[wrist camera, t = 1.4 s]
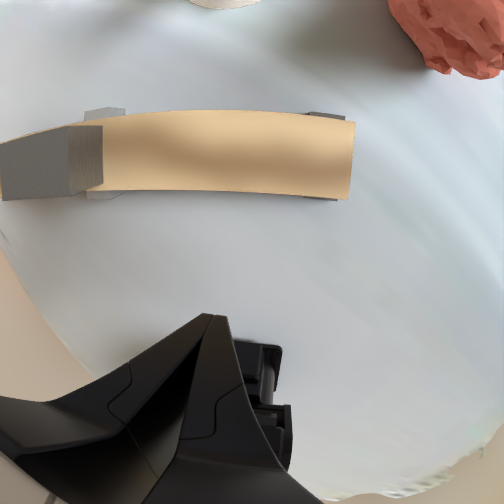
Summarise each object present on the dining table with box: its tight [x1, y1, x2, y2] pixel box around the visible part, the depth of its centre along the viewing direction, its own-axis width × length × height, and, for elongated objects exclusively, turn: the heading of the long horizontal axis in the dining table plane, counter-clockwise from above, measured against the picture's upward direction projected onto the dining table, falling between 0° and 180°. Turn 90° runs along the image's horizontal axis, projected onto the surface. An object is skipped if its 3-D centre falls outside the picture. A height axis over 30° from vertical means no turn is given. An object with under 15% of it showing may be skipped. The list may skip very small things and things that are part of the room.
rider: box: [0, 125, 104, 201], centre depth 14 cm, size 4×7×4 cm, turn 87°
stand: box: [24, 107, 345, 201], centre depth 18 cm, size 7×29×2 cm, turn 87°
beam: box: [0, 110, 355, 200], centre depth 17 cm, size 5×30×2 cm, turn 87°
